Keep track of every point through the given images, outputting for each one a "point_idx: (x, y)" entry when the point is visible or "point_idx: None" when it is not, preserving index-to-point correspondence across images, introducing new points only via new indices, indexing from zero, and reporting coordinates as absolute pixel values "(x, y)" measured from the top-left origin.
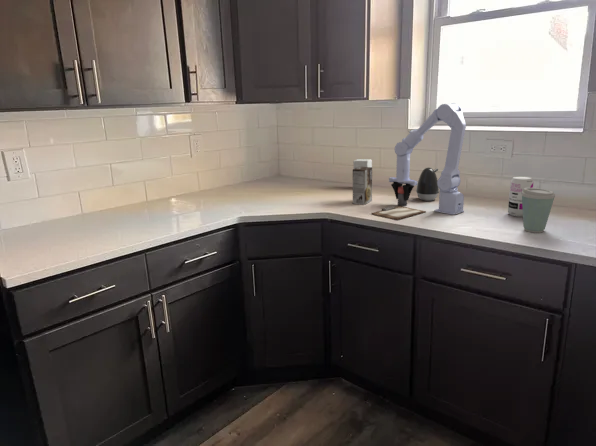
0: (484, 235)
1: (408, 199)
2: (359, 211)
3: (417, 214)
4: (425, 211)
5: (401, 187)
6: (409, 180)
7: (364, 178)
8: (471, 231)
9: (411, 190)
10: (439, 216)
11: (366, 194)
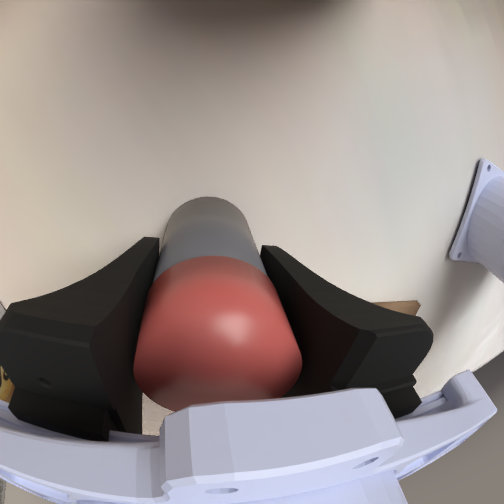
0: (498, 346)
1: (280, 249)
2: (144, 430)
3: None
4: (418, 307)
5: (210, 391)
6: (400, 474)
7: (4, 493)
8: (489, 347)
9: (353, 300)
10: (458, 307)
11: (9, 385)
